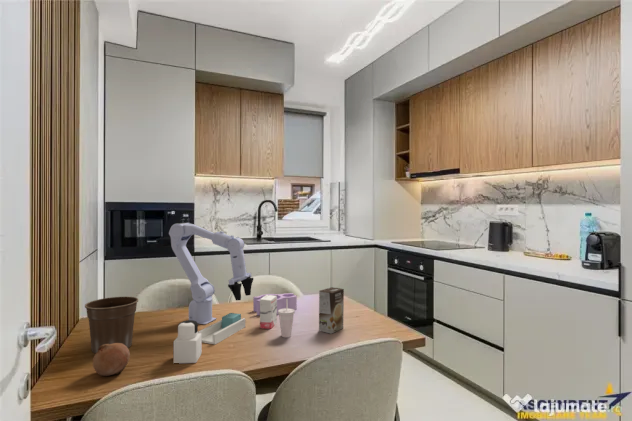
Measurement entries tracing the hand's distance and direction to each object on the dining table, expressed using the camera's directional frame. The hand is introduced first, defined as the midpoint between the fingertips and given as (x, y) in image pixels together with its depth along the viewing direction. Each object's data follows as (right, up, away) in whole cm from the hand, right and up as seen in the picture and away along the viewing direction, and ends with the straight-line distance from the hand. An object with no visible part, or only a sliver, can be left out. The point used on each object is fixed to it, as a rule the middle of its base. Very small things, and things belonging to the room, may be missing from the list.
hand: (243, 297), depth 148 cm
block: (-3, -10, -7) cm, 13 cm away
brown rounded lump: (-29, -11, -45) cm, 55 cm away
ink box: (+11, -11, -3) cm, 16 cm away
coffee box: (+37, -11, -7) cm, 39 cm away
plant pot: (-40, -11, -26) cm, 49 cm away
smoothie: (+19, -11, -14) cm, 27 cm away
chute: (-5, -11, -13) cm, 18 cm away
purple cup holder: (+12, -11, +19) cm, 25 cm away
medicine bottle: (-11, -11, -35) cm, 38 cm away
